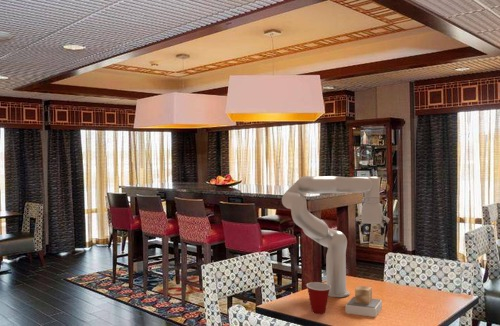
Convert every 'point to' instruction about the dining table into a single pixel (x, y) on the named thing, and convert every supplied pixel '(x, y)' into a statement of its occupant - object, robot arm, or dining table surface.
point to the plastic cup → (318, 296)
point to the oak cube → (363, 295)
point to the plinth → (364, 307)
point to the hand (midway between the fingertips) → (372, 234)
